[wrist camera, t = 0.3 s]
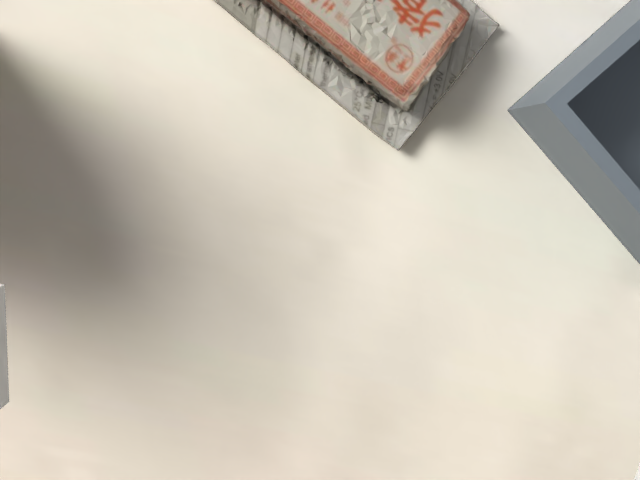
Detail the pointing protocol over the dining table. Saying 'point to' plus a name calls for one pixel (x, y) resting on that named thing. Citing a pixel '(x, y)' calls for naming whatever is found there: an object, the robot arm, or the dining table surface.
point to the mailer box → (595, 122)
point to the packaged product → (373, 51)
